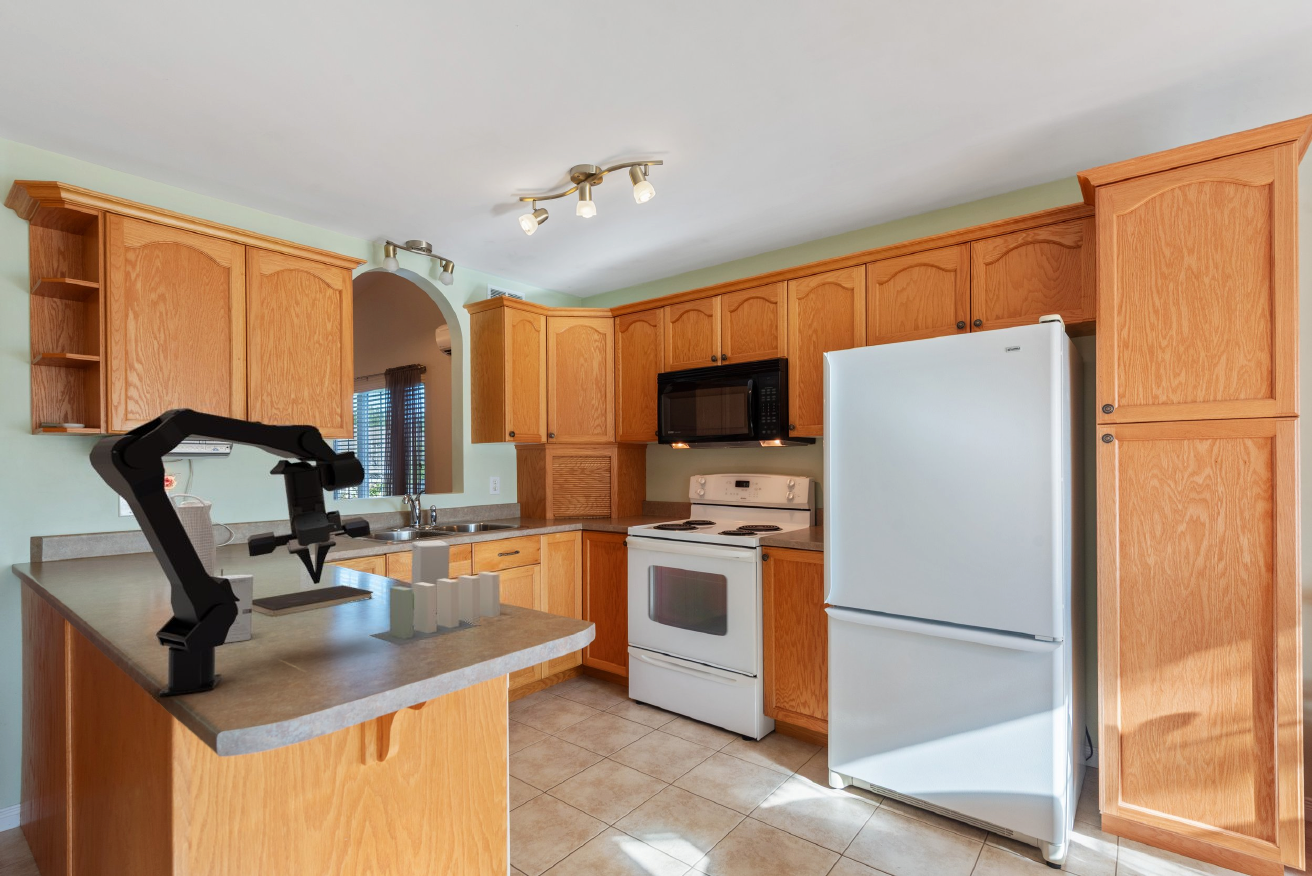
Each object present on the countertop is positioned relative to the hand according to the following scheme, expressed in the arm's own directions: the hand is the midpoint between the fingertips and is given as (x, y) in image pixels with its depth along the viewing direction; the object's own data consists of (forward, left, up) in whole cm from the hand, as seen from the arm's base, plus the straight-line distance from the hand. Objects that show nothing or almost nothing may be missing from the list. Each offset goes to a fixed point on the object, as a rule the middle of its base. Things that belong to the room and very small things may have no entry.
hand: (316, 583), depth 115 cm
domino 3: (+8, -23, -12) cm, 27 cm away
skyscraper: (+24, +24, -12) cm, 36 cm away
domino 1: (+3, -14, -12) cm, 19 cm away
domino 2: (+6, -18, -12) cm, 23 cm away
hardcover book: (+48, +6, -13) cm, 50 cm away
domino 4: (+10, -27, -12) cm, 32 cm away
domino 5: (+13, -32, -12) cm, 36 cm away
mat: (+8, -22, -12) cm, 27 cm away
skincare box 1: (+17, +16, -12) cm, 26 cm away
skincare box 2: (+24, -20, -12) cm, 34 cm away
